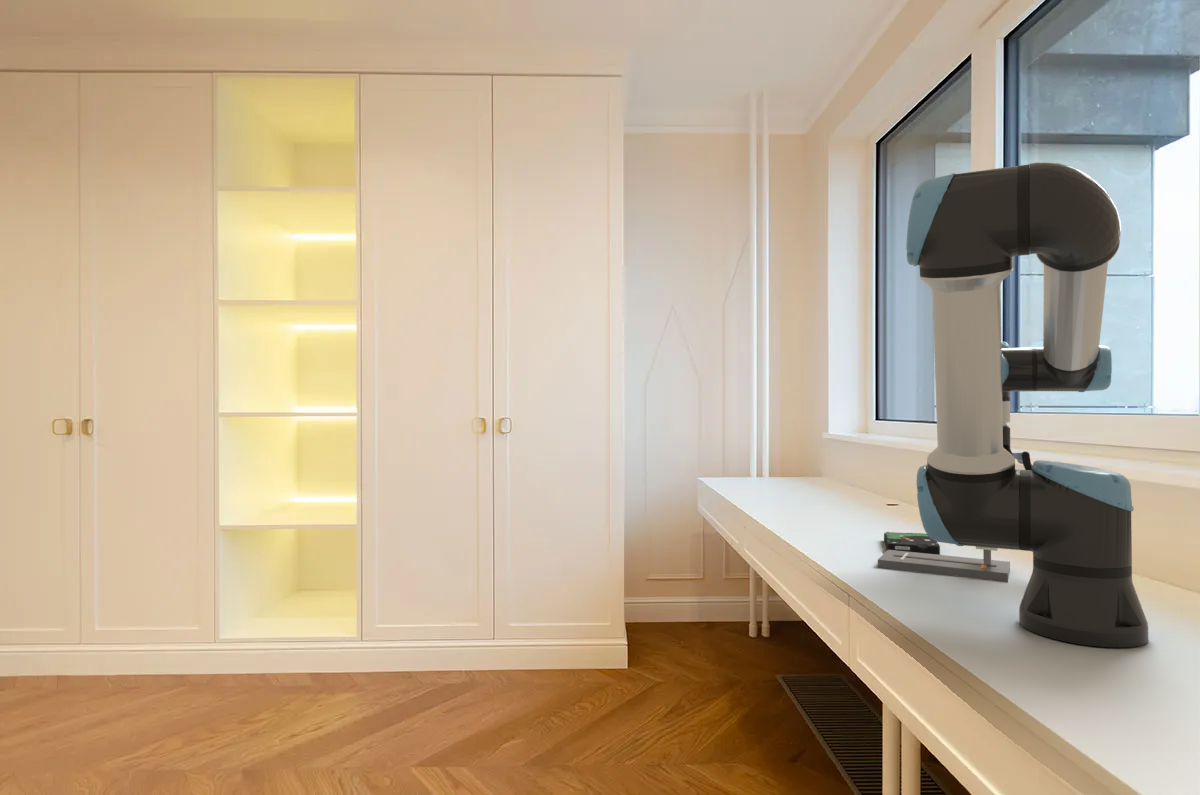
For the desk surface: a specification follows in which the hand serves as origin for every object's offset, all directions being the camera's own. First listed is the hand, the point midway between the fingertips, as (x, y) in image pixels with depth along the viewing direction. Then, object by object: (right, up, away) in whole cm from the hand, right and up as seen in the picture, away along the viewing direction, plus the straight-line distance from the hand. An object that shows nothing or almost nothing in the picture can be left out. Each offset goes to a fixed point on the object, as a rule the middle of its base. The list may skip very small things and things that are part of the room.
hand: (987, 538), depth 138 cm
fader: (0, -5, 0) cm, 5 cm away
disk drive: (-4, -7, +24) cm, 25 cm away
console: (-6, -7, +4) cm, 10 cm away
